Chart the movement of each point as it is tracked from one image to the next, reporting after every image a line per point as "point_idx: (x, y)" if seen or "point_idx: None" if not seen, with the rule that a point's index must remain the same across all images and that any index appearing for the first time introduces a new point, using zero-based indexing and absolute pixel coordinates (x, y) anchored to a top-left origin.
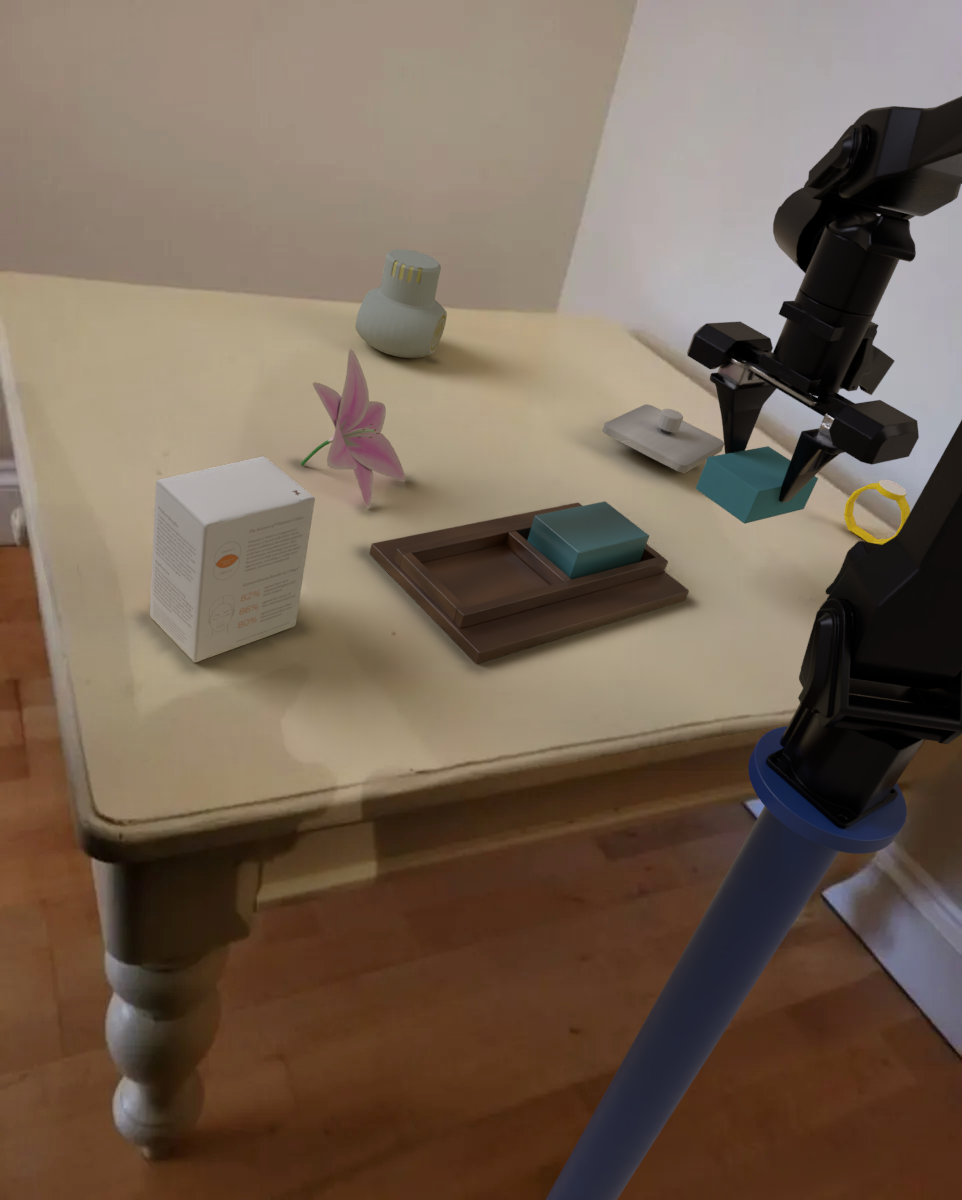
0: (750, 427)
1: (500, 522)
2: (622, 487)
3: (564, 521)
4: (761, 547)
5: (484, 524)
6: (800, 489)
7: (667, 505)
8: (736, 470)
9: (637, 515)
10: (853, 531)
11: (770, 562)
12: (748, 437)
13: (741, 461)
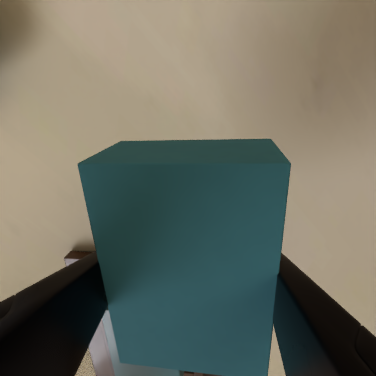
0: (52, 321)
1: (92, 341)
2: (20, 156)
3: (130, 367)
4: (182, 49)
5: (94, 352)
6: (303, 274)
7: (62, 123)
8: (180, 356)
9: (81, 186)
10: None
11: (218, 71)
12: (75, 291)
13: (147, 315)
